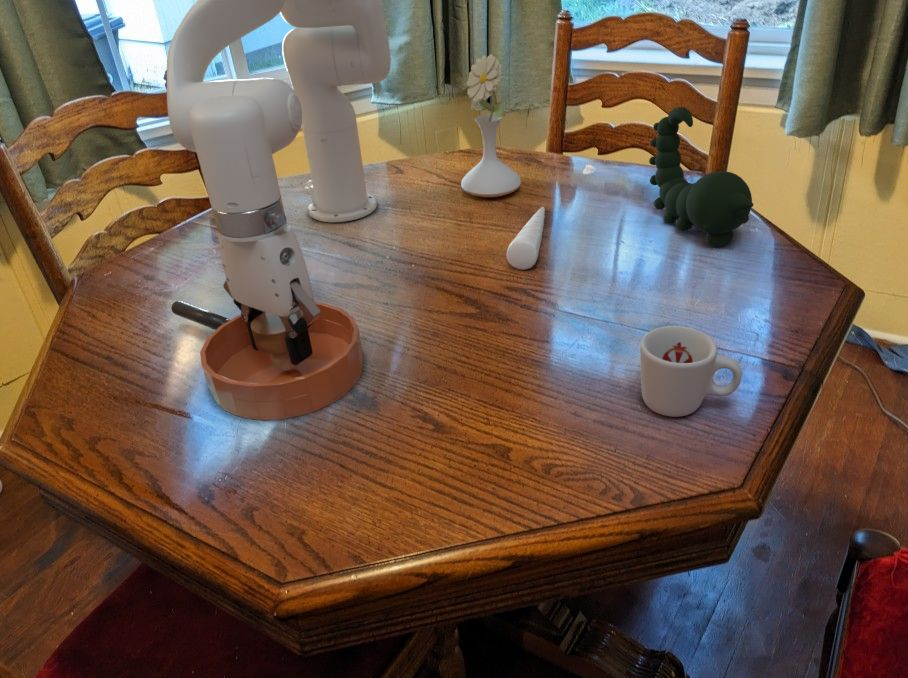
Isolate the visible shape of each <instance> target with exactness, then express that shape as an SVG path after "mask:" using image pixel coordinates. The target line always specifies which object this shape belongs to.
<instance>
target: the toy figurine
mask: <svg viewBox="0 0 908 678" xmlns="http://www.w3.org/2000/svg"><path fill="white" fill-rule="evenodd" d="M683 122H684V123H685V124H686V125H687V126H688V127H689V128H692V127H693V126H694V118H693V115H692V112H691V110H689V109H688V108H687V107H684V106H676V107H674V108H672V109H671V110H670V111H669V113H668V116H665V117H662V118H661V119H660V120H659V121H658V122H654V124H653V126H652V129H653V130H654V131H655V132H656V133H657V134H658V135H657V136H656V137H654V138H652V139H651V141H650V145H651V146H652V148H655V149H656V150H657V153H656V155H655V156H651V157H650V158H649V160H648V163H649V165H651V166H655V167H656V169H657V170H656V171H655V174H653V175H652V176H650V179H649V183H650V185H653V186H657V187H659V197H656V199H654V201H653V206H654V208H655V209H656V210H659V211H660V210H663V209H665V211H666V212H665V213H664V215H663V220H664V223H665V224H668V225H671V224H674V223H675V226H676V228H677V230H678V231H679V232H682V233H685V232H688V231H690V230H691V229H692V228H693V227H695V228H697V230H699V231H701V232H703V233H706V237H705V239H706V242H707V244H708V245H709V246H711V247H724V246H726V245H728V244H730V243H732V241H733V239H734V237H735V232H734V231H735V230H736V229H739V227H741V226H742V225H744V224H746V223H748V222H749V220H750V212H751V210H752V208H753V207H754V203H753V196H752V192H751V189H750V187H749V185H748V183H746V181H745V180H744V179H743V178H742V176H740V175H738V174H737V173H734V172H730V171H726V170H719V171H718V170H717V171H712V172H710V173H707V174H705V175H703V176H701V177H700V178H698V180H697V181H695V182H693V183H691V182H689V181H687V179H685V173H684V169H683V167H682V166H681V162H682V154H681V152H680V151H679V148H680V145H681V138H680V137H681V136H679V134H678V132H679V129H680V124H681V123H683Z"/></svg>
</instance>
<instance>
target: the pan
mask: <svg viewBox="0 0 908 678" xmlns="http://www.w3.org/2000/svg"><path fill="white" fill-rule="evenodd" d="M313 302H314V303H315V305H316V306H317V307H318V308H319V310H320V312H321V314H320V316H319V317H318V318H317V319H316V320H315V321H314V323H313V324H312V325H311V327H310V328H309V329H308V332H309V337H310V342H311V346H312V351H313V352H312V355H311V356H309V357H308V358H306V359H305V360H303V361H302V362H301V363H299V364H298V365H297V366H296V367H294V368H293V369H290V370H287V371H278V370H276V369H274V367H273V364H272V360H271V356H270V354H268V353H264V352H261V351H259V350H258V351H257V350H254V349H253V347H252V343H251V339H250V336H249V332H248V328H247V325H246V323H248V321H247V322H245V321H244V320H243V319H242V317H241V314H238V315H236V316H235V317H233V318H230V319H231V320H230V321H228V322H226V323H224V324H223V325H221V326H220V327H218V328H217V329H216V330H214V331H213V332H212V333H211V334H210V335H209V336H208V337H207V338H206V339H205V341H204V343H203V345H202V347H201V349H200V353H199V354H200V355H199V356H200V363H201V368H202V371H203V374H204V377H205V379H206V383H207V386H208V389H209V391H210V395H211V396H212V398H213V400H214V402H215V403H216V404H217V406H218V407H220V408H221V409H222V410H224V411H225V412H228V413H229V414H231V415H234V416H236V417H239V418H244V419H249V420H256V421H276V420H284V419H286V420H287V419H292V418H297V417H300V416H304V415H307V414H311V413H313V412H316V411H319V410H321V409H323V408H325V407H327V406H330V405H331V404H333V403H335V402H337V401H338V400H340V399H341V398H342V397H344V396H345V395H346V394H348V392H350V391H351V390H352V389H353V388H354V386H355V385H356V384H357V383H358V381H359V380H360V378H361V375H362V373H363V371H364V370H363V369H364V354H363V353H364V352H363V347H362V341H361V334H360V328H359V326H358V324H357V322H356V320H355V317H354V316H352V315H351V314H349V313H348V312H347V311H346V310H344V309H343V308H341V307H339V306H336V305H335V306H334V305H331V304H329V303H325V302H317V301H313ZM291 307H292V306H291ZM263 313H264V312H263Z"/></svg>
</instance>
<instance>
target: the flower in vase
mask: <svg viewBox="0 0 908 678" xmlns="http://www.w3.org/2000/svg"><path fill="white" fill-rule="evenodd" d="M502 67H503V66H502V64H500V61H499V59H498V58H496V56H495V55H493V54H492V53H490V54H489V55H487V56H486V55H485V54H484V55H482V56H481V58H478V59H477V60H476V64H472V65H471V67H470V69H471V70H470V72H469V73H468V79H467V82H466V86H467V87H468V88H467V96H468V97H469V99H473V102H474V103H477V102H478V103H479V105H480V106H481V107H483V108H484V109H485V110H487V111H489V112H490V113H484V114H480V115H477V116H475V117H474V121H475V122H476V124H477V125H478V127H479V129H480V132H481V136H482V143H483V152H482V153H483V154H482V158H481V160H480V161H479V162H478V163H477V164H476V165H474V167H472V168H471V169H470V170H469V171H468V172H467V173H466V174H465V175H464V176H463V177H462V180H461V183H460V186H461V189H462V190H463V191H464V192H465V193H467V194H468V195H471V196H475V197H480V198H498V197H502V196H503V197H504V196H505V195H509V194H511V193H513V192H515V191H517V190H518V189H519V187H520V186H521V184H522V179H521V177H520V175H519V174H518V173H517V172H516V170H514V169H513V168H511V167H510V166H508V165H507V164H505V163H504V162H503V161H502V160H500V159H499V156H498V155H497V154H498V153H497V146H496V145H497V144H496V141H497V131H498V129H499V125H500V123H501V121H502V119H503V117H506V113H505V110H504V109H505V108H504V104H503V102H502V101H498V102H497V100H498V99H497V95H496V92H495V91H496V90H497V86H498V84H500V82H501V80H502V79H501V75H502ZM491 96H493V99H494V102H493V106H492V104H491V103H490V102H488V101H486V100H488V99H489V97H491Z"/></svg>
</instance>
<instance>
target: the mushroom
mask: <svg viewBox="0 0 908 678" xmlns="http://www.w3.org/2000/svg"><path fill="white" fill-rule="evenodd" d="M289 317H290V319H291V321H292V323H293V325H294V324H295V323H296V322H297V320H298V318H297V316H296V314H295V313H294V314H292V315H291V316H289ZM251 330H252V334H253V337H254V341H255V345H256V348H257V349H258V350H259V351H261V352H264V353H268V354H270V356H271V360H272V364H273V367H274V369H276V370H278V371H287V370H290V369H293V368H294V367H296V366H297V365H293V364H291V361H290V357H289V352H288V348H287V344H286V340H285V337H287V336H288V333H287V331H286V329H285V327H284V325H283V324H282V322H281V320H280V318H279V316H276V315H273V314H270V313H267V312H265V313H262V314H260V315H259V316H257V317H256V318H255V319H254V320H253V321H252V323H251Z"/></svg>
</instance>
